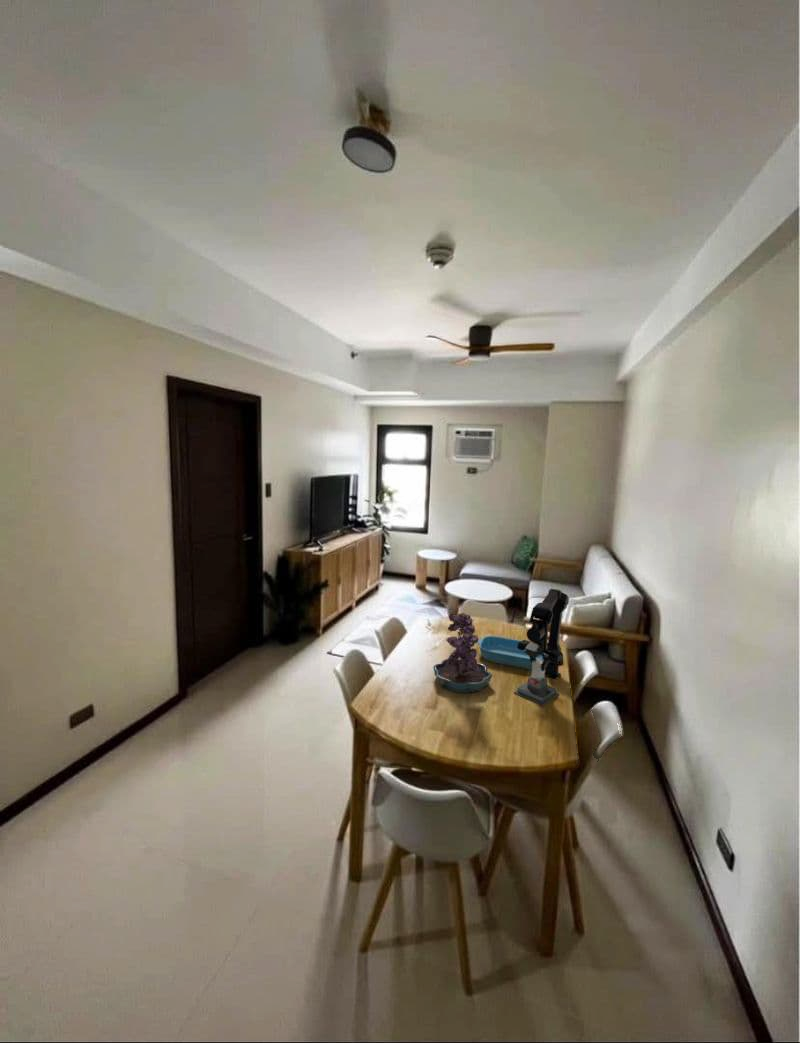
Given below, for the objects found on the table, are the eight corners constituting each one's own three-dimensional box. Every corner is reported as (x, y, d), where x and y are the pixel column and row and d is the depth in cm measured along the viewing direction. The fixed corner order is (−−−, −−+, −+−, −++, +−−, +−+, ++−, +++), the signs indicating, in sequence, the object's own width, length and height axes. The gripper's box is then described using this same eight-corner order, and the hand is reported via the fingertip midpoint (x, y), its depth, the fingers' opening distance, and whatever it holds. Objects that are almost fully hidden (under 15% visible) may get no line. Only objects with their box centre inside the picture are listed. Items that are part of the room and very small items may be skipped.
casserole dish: (551, 657, 227) (551, 644, 226) (548, 675, 207) (549, 661, 206) (481, 645, 241) (481, 633, 240) (472, 661, 220) (472, 648, 219)
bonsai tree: (438, 664, 215) (441, 600, 212) (494, 672, 208) (497, 607, 204) (421, 699, 182) (424, 624, 178) (487, 710, 174) (491, 633, 171)
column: (535, 682, 192) (536, 658, 190) (544, 685, 189) (545, 661, 187) (530, 685, 189) (532, 661, 187) (539, 688, 186) (541, 664, 184)
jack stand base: (530, 682, 199) (531, 668, 198) (559, 694, 189) (560, 679, 188) (513, 692, 189) (514, 677, 188) (543, 705, 179) (545, 690, 178)
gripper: (511, 633, 187) (509, 667, 189) (552, 646, 174) (549, 683, 176) (524, 626, 195) (522, 660, 197) (564, 639, 181) (562, 674, 183)
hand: (538, 669), depth 188 cm, fingers closed on column, 4 cm apart
